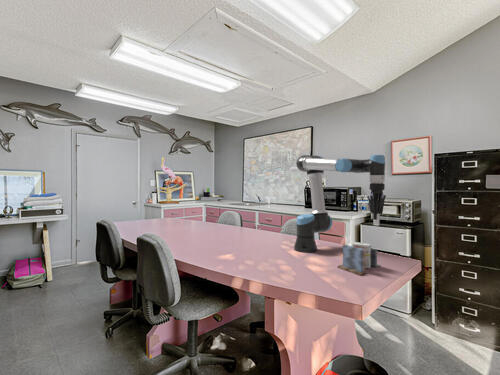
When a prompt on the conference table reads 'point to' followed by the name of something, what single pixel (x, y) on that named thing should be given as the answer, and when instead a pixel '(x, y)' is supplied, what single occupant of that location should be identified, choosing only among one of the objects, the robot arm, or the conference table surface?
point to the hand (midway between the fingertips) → (376, 225)
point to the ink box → (367, 252)
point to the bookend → (374, 258)
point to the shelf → (353, 260)
